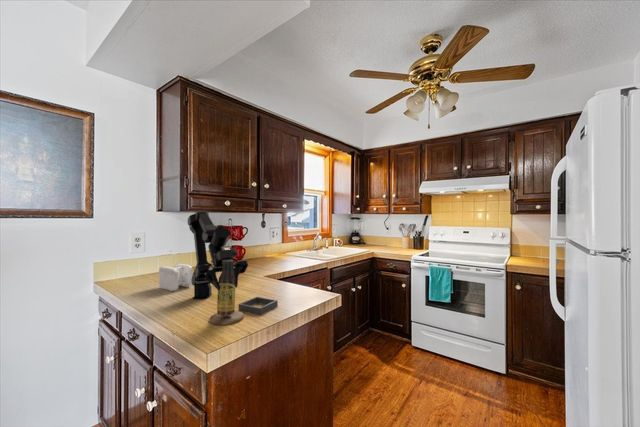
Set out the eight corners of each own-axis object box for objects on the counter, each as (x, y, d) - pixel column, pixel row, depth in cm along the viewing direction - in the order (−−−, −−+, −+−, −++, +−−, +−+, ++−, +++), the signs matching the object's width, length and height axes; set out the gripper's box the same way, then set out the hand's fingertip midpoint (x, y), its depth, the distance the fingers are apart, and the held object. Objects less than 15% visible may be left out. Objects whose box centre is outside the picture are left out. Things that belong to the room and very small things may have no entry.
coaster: (204, 325, 96) (204, 323, 96) (216, 312, 108) (216, 310, 108) (238, 325, 96) (238, 323, 96) (247, 312, 108) (247, 310, 108)
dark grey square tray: (238, 310, 111) (238, 304, 111) (256, 302, 120) (256, 296, 120) (260, 315, 106) (260, 308, 106) (277, 306, 115) (277, 300, 115)
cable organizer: (193, 287, 143) (193, 265, 143) (173, 293, 134) (173, 269, 134) (177, 283, 151) (177, 262, 151) (157, 288, 142) (157, 266, 142)
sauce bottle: (214, 316, 99) (214, 261, 99) (220, 310, 105) (220, 258, 105) (233, 316, 99) (233, 261, 99) (237, 310, 105) (237, 258, 105)
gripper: (197, 243, 99) (205, 280, 91) (246, 239, 111) (258, 272, 102) (191, 261, 106) (199, 297, 97) (239, 256, 117) (249, 288, 109)
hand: (228, 288), depth 101 cm, fingers closed on sauce bottle, 6 cm apart
